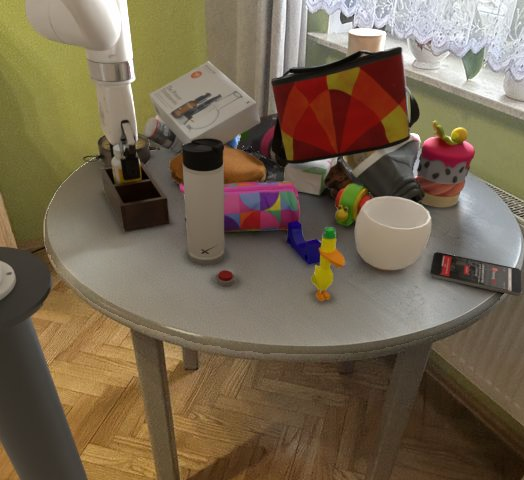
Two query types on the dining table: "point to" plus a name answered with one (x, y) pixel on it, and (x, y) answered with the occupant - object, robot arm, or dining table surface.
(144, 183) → the rack
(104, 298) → the dining table surface
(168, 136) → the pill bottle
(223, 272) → the push button
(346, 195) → the green red striped toy
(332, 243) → the toy figure
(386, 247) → the cup
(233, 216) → the pencil case
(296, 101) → the bag
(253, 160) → the pancake
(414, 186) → the sneaker
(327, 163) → the ink box
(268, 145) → the shoe
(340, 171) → the artifact
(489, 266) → the smartphone
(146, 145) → the alarm clock
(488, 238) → the dining table surface
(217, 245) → the travel mug
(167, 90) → the skincare box
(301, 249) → the cable holder
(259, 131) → the dark grey pouch
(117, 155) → the supplement bottle
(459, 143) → the cake
